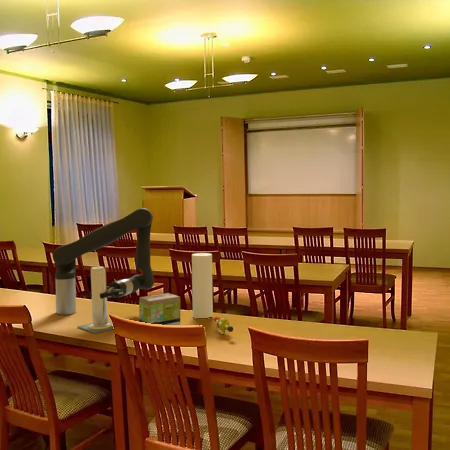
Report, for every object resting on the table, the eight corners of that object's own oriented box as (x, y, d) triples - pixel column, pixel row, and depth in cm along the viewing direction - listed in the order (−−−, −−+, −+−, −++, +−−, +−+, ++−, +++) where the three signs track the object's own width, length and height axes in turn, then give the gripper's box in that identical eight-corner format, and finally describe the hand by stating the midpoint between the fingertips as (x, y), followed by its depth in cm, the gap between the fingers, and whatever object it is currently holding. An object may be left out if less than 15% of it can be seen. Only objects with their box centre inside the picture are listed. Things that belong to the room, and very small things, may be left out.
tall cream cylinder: (104, 325, 219) (101, 268, 217) (90, 325, 221) (87, 268, 218) (110, 321, 226) (108, 266, 223) (96, 321, 227) (94, 265, 225)
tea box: (151, 336, 209) (150, 301, 208) (138, 331, 217) (138, 297, 216) (181, 329, 219) (180, 295, 218) (168, 324, 226) (167, 292, 225)
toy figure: (209, 329, 219) (209, 313, 218) (221, 327, 221) (221, 312, 220) (224, 341, 202) (224, 324, 201) (237, 339, 204) (237, 322, 203)
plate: (77, 327, 223) (77, 325, 223) (105, 321, 233) (105, 319, 233) (94, 333, 213) (94, 332, 213) (122, 327, 223) (122, 325, 223)
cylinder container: (215, 317, 237) (214, 254, 235) (196, 319, 234) (195, 255, 232) (208, 313, 246) (207, 251, 244) (190, 315, 243) (189, 252, 240)
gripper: (108, 278, 238) (82, 285, 223) (133, 281, 231) (107, 288, 216) (109, 294, 238) (83, 302, 223) (133, 297, 231) (108, 305, 216)
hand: (95, 295), depth 220 cm, fingers closed on tall cream cylinder, 5 cm apart
